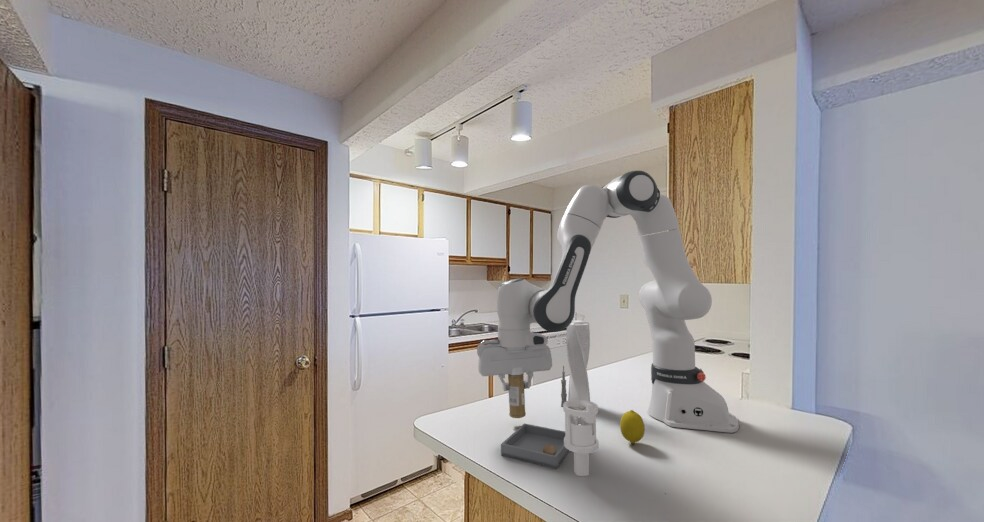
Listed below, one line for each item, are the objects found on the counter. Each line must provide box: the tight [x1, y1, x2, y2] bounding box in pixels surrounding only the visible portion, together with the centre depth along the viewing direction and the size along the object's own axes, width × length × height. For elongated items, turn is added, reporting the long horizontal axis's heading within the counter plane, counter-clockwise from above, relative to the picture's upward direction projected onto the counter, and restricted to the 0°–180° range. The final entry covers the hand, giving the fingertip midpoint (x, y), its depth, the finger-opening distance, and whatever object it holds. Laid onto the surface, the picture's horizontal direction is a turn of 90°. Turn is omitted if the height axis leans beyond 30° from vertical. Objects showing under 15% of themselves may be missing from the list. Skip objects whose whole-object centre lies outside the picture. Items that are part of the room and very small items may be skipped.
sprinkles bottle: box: [507, 368, 526, 419], centre depth 104 cm, size 5×5×14 cm
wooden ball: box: [543, 444, 556, 455], centre depth 84 cm, size 3×3×3 cm
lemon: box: [619, 409, 645, 445], centre depth 92 cm, size 6×6×8 cm
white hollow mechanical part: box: [562, 400, 600, 477], centre depth 79 cm, size 7×7×15 cm
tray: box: [500, 423, 571, 470], centre depth 90 cm, size 13×13×2 cm
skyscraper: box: [560, 314, 591, 411], centre depth 119 cm, size 8×8×28 cm
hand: (516, 389), depth 104 cm, fingers closed on sprinkles bottle, 4 cm apart
